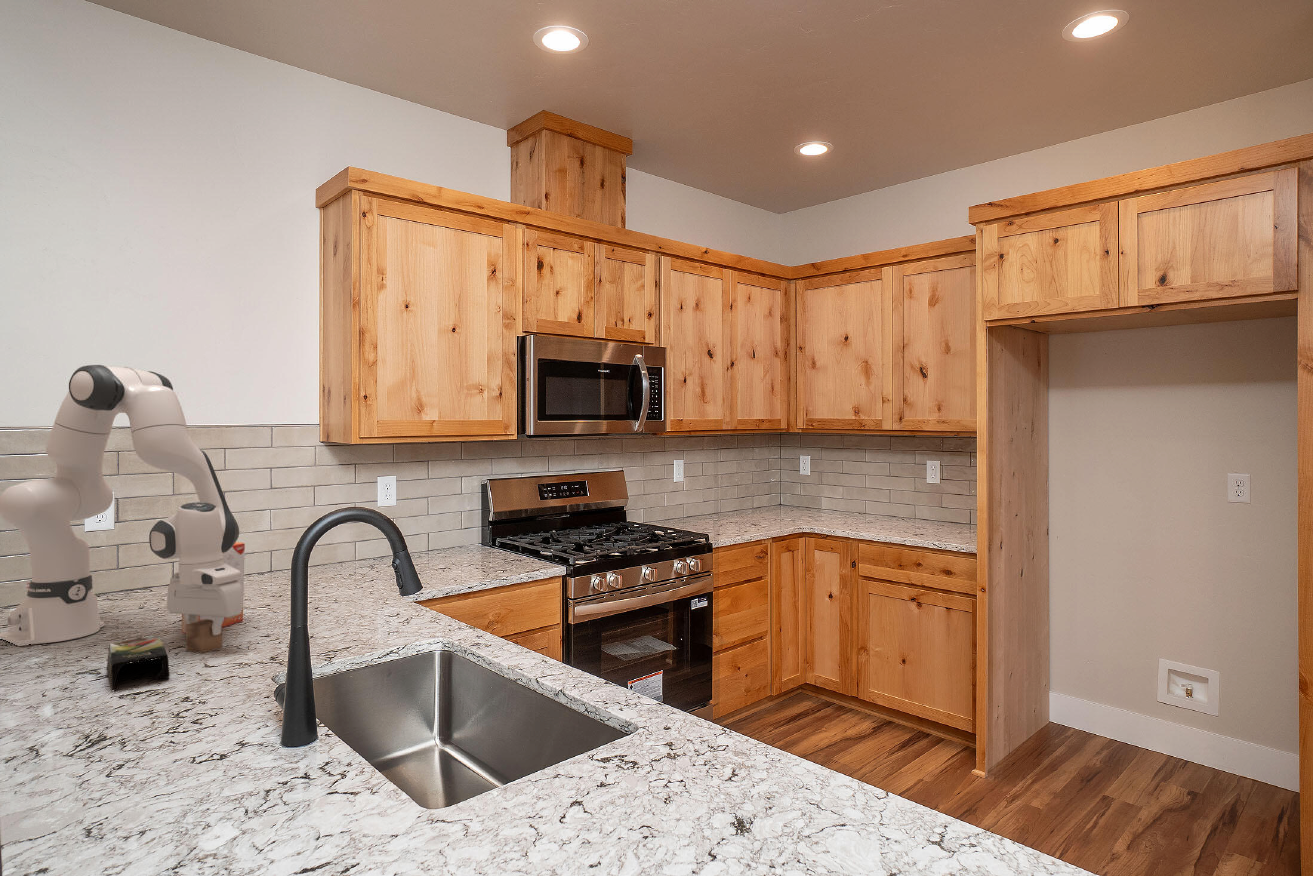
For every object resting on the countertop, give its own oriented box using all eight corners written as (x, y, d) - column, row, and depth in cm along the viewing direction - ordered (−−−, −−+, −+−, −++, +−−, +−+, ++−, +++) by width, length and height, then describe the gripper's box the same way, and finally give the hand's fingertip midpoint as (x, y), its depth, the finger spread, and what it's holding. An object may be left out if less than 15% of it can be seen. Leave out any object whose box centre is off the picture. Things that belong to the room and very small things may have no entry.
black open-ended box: (105, 667, 153) (105, 639, 153) (161, 658, 159) (160, 630, 159) (109, 694, 138) (109, 663, 137) (171, 683, 144) (170, 652, 144)
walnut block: (186, 651, 163) (185, 624, 163) (207, 644, 168) (206, 619, 168) (201, 653, 161) (201, 626, 161) (222, 646, 166) (221, 621, 166)
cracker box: (200, 636, 175) (201, 551, 175) (180, 634, 177) (180, 549, 176) (245, 620, 189) (245, 541, 189) (226, 619, 190) (226, 540, 190)
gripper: (157, 575, 165) (160, 634, 165) (220, 577, 158) (224, 640, 158) (183, 569, 171) (187, 627, 171) (246, 572, 164) (249, 632, 164)
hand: (205, 633), depth 165 cm, fingers closed on walnut block, 5 cm apart
